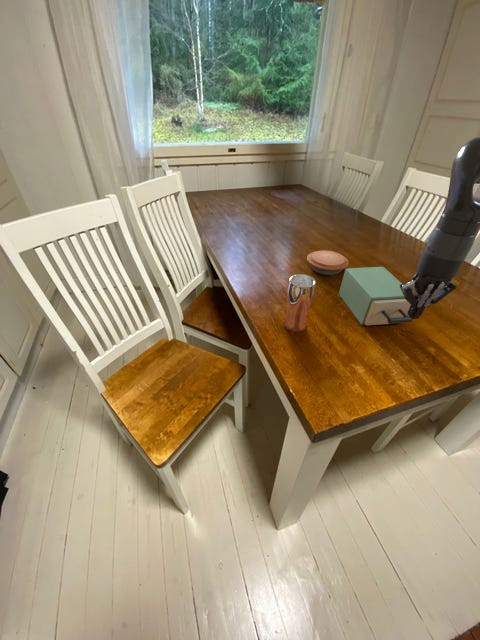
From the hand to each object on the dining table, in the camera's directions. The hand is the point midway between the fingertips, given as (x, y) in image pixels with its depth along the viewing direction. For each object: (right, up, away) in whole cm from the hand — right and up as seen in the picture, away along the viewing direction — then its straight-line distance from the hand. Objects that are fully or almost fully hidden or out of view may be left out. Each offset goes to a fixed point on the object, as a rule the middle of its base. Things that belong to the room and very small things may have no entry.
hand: (412, 316), depth 68 cm
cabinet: (-2, +3, +19) cm, 19 cm away
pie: (-9, +19, +39) cm, 44 cm away
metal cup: (-27, -2, +12) cm, 30 cm away
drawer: (-2, +1, +15) cm, 15 cm away
